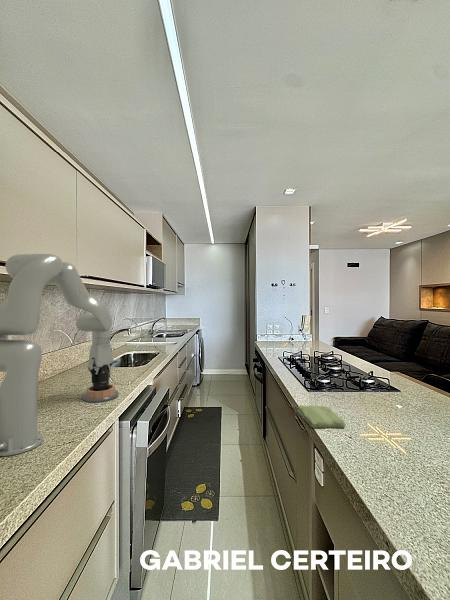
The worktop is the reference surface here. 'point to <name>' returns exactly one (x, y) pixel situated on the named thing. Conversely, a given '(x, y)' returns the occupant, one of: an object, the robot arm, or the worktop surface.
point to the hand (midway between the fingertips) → (100, 380)
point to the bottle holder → (100, 395)
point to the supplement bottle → (102, 379)
